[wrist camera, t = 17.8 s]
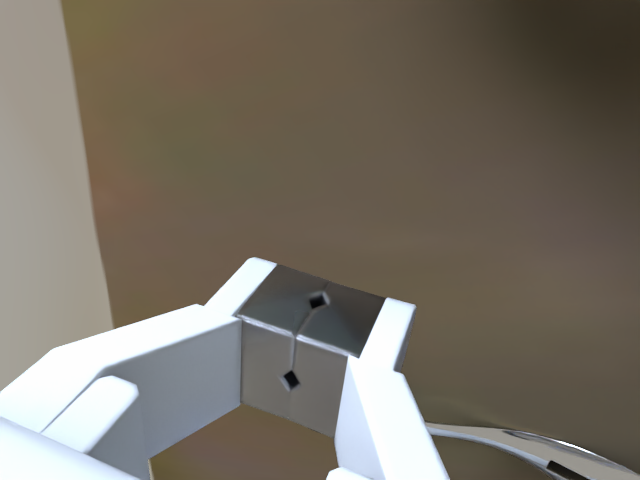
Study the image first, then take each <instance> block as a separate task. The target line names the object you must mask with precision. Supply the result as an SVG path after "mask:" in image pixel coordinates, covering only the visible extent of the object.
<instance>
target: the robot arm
mask: <svg viewBox="0 0 640 480" xmlns="http://www.w3.org/2000/svg"><path fill="white" fill-rule="evenodd" d="M416 309H417V308H416V305H413V304H410V303H406V302H402V301H399V300H395V299H391V298H384V297H381V296H377V295H374V294H370V293H367V292H364V291H360V290H357V289H354V288H350V287H347V286H344V285H340V284H337V283H334V282H332V281H329V280H326V279H323V278H320V277H316V276H313V275H310V274H307V273H304V272H301V271H298V270H295V269H292V268H289V267H286V266H283V265H278V264H276V263H273V262H270V261H266V260H263V259H260V258H257V257H253V258H250V259H248V260H247V261H246V262H245V263H244V264H243V265H242V266H241V267H240V269H239V270H238V271H237V272H236V273H235V274H234V275H233V276H232V277H231V278H230V279H229V280H228V281H227V282H226V283H225V284H224V286H223V287H222V288H221V289H220V290H219V291H218V292H217V293H216V294H215V295H214V296H213V297H212V298H211V299H210V300H209V301H208V302H207V304H206V305H205V306H201V305H198V304H195V305H191V306H188V307H185V308H182V309H179V310H175V311H172V312H169V313H166V314H163V315H159V316H156V317H153V318H150V319H147V320H143V321H140V322H137V323H134V324H131V325H128V326H124V327H121V328H118V329H115V330H112V331H108V332H106V333H102V334H99V335H96V336H93V337H89V338H86V339H83V340H80V341H76V342H73V343H70V344H67V345H64V346H61V347H57V348H54V349H52V350H51V351H50V352H49V353H47V354H46V355H45V356H44V357H43V358H41V359H40V360H39V361H38V362H36V363H35V364H34V365H33V366H32V367H31V368H29V369H28V370H27V371H26V372H24V373H23V374H22V375H21V376H20V377H18V378H17V379H16V380H15V381H13V382H12V383H11V384H10V385H8V386H7V387H6V388H5V389H4V390H2V391H1V392H0V480H150V474H149V466H148V459H150V458H151V457H153V456H155V455H156V454H158V453H160V452H162V451H163V450H165V449H167V448H168V447H170V446H172V445H173V444H175V443H177V442H179V441H180V440H182V439H184V438H185V437H187V436H189V435H190V434H192V433H194V432H196V431H197V430H199V429H201V428H202V427H204V426H206V425H207V424H209V423H211V422H213V421H214V420H216V419H218V418H219V417H221V416H223V415H224V414H226V413H228V412H230V411H231V410H233V409H235V408H236V407H238V406H240V403H243V404H246V405H249V406H252V407H255V408H257V409H260V410H263V411H266V412H269V413H272V414H274V415H277V416H280V417H283V418H286V419H288V420H291V421H293V422H296V423H298V424H300V425H303V426H305V427H308V428H310V429H312V430H315V431H317V432H320V433H322V434H325V435H327V436H329V437H332V438H334V444H335V449H336V454H337V459H338V465H339V468H337V469H335V470H332V471H330V472H329V474H328V477H327V479H326V480H450V478H449V476H448V474H447V472H446V469H445V467H444V465H443V462H442V460H441V458H440V456H439V453H438V451H437V449H436V446H435V444H434V442H433V440H432V437H431V435H430V433H429V431H428V428H427V426H426V424H425V421H424V419H423V417H422V415H421V412H420V410H419V408H418V405H417V403H416V401H415V399H414V396H413V394H412V392H411V389H410V387H409V385H408V383H407V380H406V378H405V376H404V374H402V373H401V369H402V365H403V362H404V358H405V354H406V350H407V346H408V342H409V338H410V334H411V331H412V327H413V323H414V319H415V315H416Z"/></svg>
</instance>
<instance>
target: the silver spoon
mask: <svg viewBox="0 0 640 480" xmlns="http://www.w3.org/2000/svg"><path fill="white" fill-rule="evenodd" d="M424 421H425V424H426V426H427V428H428V431H429V433H430V435H433V436H441V437H448V438H454V439H459V440H464V441H469V442H473V443H477V444H481V445H484V446H488V447H491V448H494V449H496V450H499V451H502V452H504V453H507V454H509V455H511V456H513V457H515V458H517V459H519V460H521V461H523V462H525V463H527V464H528V465H530V466H532V467H533V468H535V469H537V470H538V471H540V472H541V473H543V474H544V475H546V476H547V477H549V478H550V479H552V480H573V479H571V478H569V477H567V476H565V475H563V474H561V473H559V472H557V471H556V470H554V469H552V468H550V467H548V464H549V462H550V460H552V461H554V462H556V463H558V464H560V465H562V466H564V467H566V468H568V469H570V470H572V471H574V472H576V473H578V474H580V475H582V476H584V477H586V478H588V479H589V480H640V474H639V473H637V472H635V471H633V470H631V469H629V468H627V467H625V466H622V465H620V464H618V463H616V462H614V461H611V460H609V459H607V458H605V457H602V456H600V455H597V454H595V453H592V452H590V451H587V450H585V449H582V448H579V447H576V446H574V445H571V444H568V443H565V442H562V441H558V440H555V439H552V438H548V437H544V436H541V435H537V434H532V433H527V432H522V431H516V430H510V429H502V428H493V427H483V426H471V425H459V424H449V423H440V422H433V421H426V420H424ZM307 428H308V427H307ZM309 429H310V428H309ZM311 430H312V429H311ZM313 431H315V430H313ZM315 432H317V431H315ZM318 433H320V432H318Z"/></svg>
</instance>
